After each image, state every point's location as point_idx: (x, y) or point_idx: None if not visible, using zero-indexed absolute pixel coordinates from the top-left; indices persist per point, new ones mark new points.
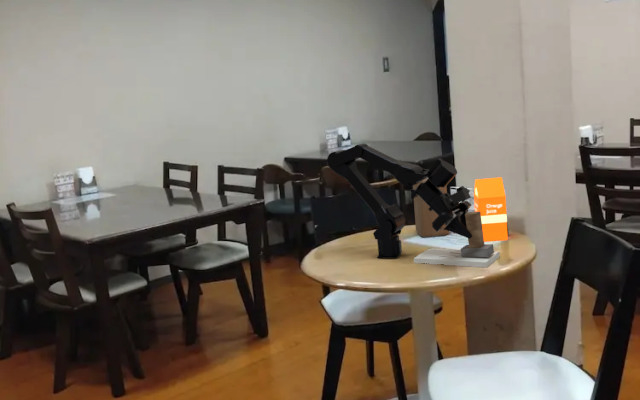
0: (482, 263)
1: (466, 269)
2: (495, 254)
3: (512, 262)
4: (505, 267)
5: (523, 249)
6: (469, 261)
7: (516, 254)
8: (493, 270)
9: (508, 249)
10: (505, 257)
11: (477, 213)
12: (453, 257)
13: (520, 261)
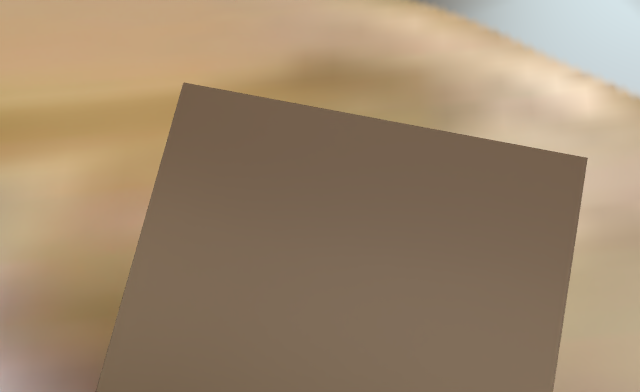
0: None
1: (629, 381)
2: None
3: (392, 50)
4: (533, 84)
5: (39, 11)
6: None
7: (172, 44)
8: (628, 159)
9: (20, 109)
10: None
11: (508, 145)
12: None
13: (365, 3)
